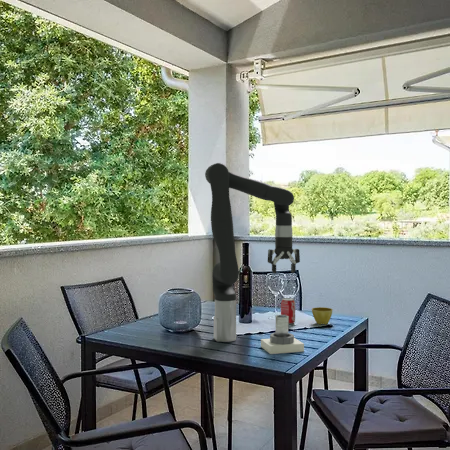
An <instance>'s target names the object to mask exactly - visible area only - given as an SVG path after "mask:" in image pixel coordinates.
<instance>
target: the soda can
mask: <svg viewBox="0 0 450 450" xmlns="http://www.w3.org/2000/svg"><path fill="white" fill-rule="evenodd" d="M280 315H286V316H288V325H293V324H294V323H295V322H296V302H295V298H292V297H291V298H290V297H286V298H282V299H281V302H280Z"/></svg>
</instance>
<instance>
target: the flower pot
mask: <svg viewBox="0 0 450 450" xmlns="http://www.w3.org/2000/svg"><path fill="white" fill-rule="evenodd" d="M311 313H312V316H313V318H314V320H315V322H316V324H317V325H321V324H325V325H328V323H329V322H330V321H331V318H332V315H333V308H331V307H330V308H329V307H325V306H323V307H321V306H320V307H319V306H317V307H312V308H311Z"/></svg>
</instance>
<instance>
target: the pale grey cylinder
mask: <svg viewBox="0 0 450 450" xmlns="http://www.w3.org/2000/svg"><path fill="white" fill-rule="evenodd" d="M275 333H276V337H288V333H289V324H288V316H286V315H281V314H278V315H275Z"/></svg>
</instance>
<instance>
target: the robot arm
mask: <svg viewBox="0 0 450 450" xmlns="http://www.w3.org/2000/svg"><path fill="white" fill-rule="evenodd" d="M204 175H205V176H204V177H205V179H206V182H208V183H209V186H210V190H211V209H210V225H211V234H212V238H213V240H214V242H215V245H216V247H217V250H218V254H219V261H218V262H217V263H216V264H215V265H214V266H213V269H212V291H213V292H212V293H213V295H214V316H213V340H215V341H216V342H218V343H219V342H221V343H222V342H223V343H226V342H227V343H228V342H229V343H230V342H234V341H236V340H237V294H236V291H235V290H234V287H233V285H234V284H235V283H236V282H237V281H238V280H239V275H240V272H239V264H238V259H237V254H236V246H235V234H234V223H233V213H232V212H233V211H232V206H231V199H230V198H231V197H230V189H233V190H235V191H238V192H242V193H244V194H246V195H249V196H252V197H254V198H257V199H260V200H262V201H268V202H269V201H270V202H272V203H273V207H274V212H275V229H274V233H275V234H274V241H275V242H274V246H275V248H274V249H270V248H269V249H268V250H267V263H268V264H271V272H272V273H273V274H277V263H278V262H279V261H280V260H284V259H285V260H289V262H290V272H291V273H292V274H295V272H296V269H297V267H296V264H298V263H300V262H301V259H300V258H301V257H300V249H299V248H294V249H293V226H292V225H293V216H292V214H291V212H290V206H291V205H292V204H293V203H294V201H295V196H294V193H293V192H291V191H290V190H288V189H286V188H282V187H278V186H273V185H271V184H268V183H266V182H263V181H260V180H256V179H253V178H249V177H244V176H241V175H237V174H235V173H233V172H230V171H229V168H228V167H227V166H226V165H225V164H223V163H221V162H217V163H214V164H212V165H210V166H208V168H207V169H206V170H205V173H204ZM274 254H275V256H274ZM292 254H294V257H293V255H292ZM273 256H274V258H273Z"/></svg>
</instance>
